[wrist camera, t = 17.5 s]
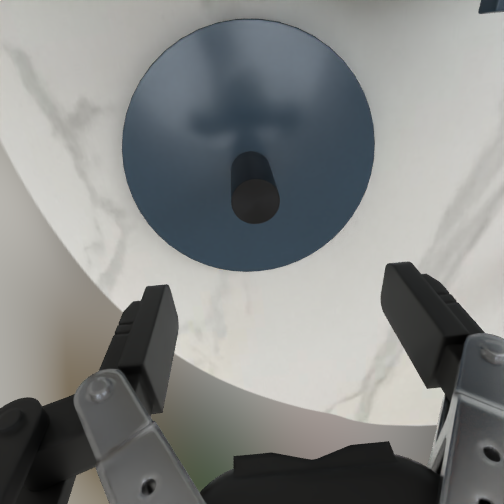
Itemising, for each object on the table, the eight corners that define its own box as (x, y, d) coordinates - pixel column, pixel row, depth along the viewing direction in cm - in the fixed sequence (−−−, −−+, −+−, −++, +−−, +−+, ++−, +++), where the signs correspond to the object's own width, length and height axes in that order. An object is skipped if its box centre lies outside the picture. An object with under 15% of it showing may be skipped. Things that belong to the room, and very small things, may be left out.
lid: (158, 273, 31) (140, 328, 25) (89, 34, 21) (31, 28, 15) (357, 254, 31) (388, 305, 25) (385, 6, 21) (448, -11, 15)
